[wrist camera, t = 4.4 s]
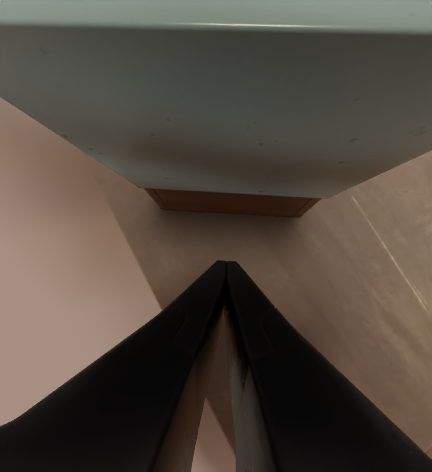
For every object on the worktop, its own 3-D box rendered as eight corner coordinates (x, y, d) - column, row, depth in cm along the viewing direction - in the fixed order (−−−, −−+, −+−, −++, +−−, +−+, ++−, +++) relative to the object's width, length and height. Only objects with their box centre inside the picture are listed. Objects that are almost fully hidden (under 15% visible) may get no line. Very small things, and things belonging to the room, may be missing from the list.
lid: (-117, -19, 4) (-121, 20, 4) (681, -10, 4) (682, 37, 4) (139, 177, 18) (138, 187, 18) (327, 188, 17) (327, 198, 17)
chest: (174, 107, 26) (160, 59, 21) (299, 112, 26) (321, 63, 20) (160, 209, 24) (140, 185, 18) (300, 217, 23) (324, 196, 17)
